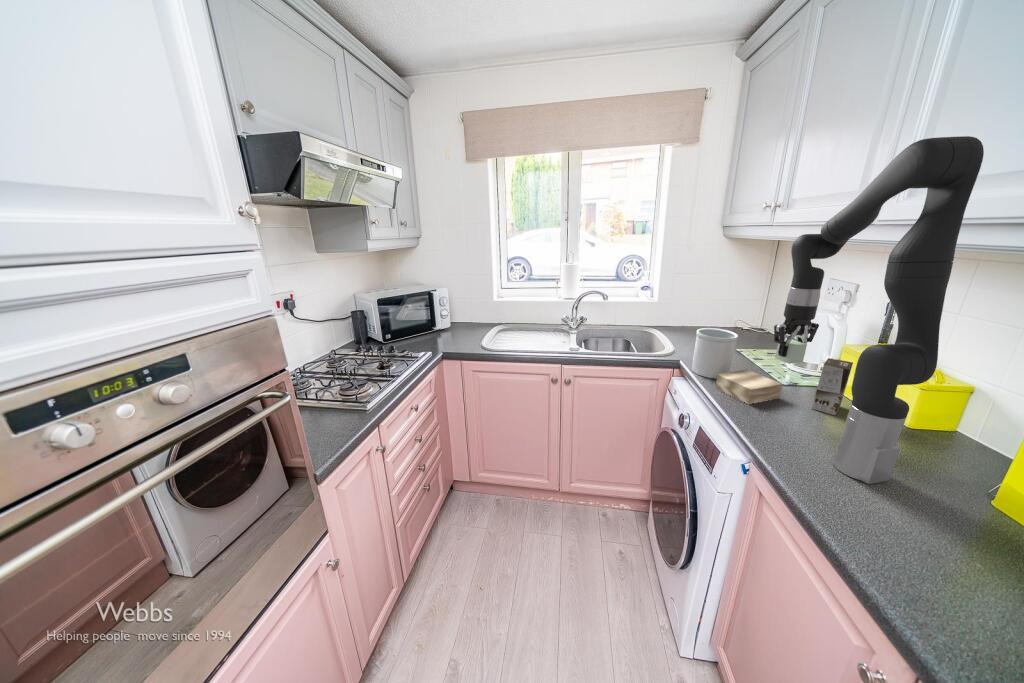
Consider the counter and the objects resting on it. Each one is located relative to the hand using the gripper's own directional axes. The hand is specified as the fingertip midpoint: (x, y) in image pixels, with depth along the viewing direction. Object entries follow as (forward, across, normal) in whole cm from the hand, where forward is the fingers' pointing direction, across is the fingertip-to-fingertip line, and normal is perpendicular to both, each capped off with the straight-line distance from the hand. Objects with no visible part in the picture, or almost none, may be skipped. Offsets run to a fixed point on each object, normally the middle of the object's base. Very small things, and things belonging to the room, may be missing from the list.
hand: (789, 355), depth 111 cm
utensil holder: (+20, +1, +33) cm, 38 cm away
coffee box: (+20, +17, -2) cm, 26 cm away
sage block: (+2, 0, 0) cm, 2 cm away
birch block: (+20, 0, +13) cm, 24 cm away
